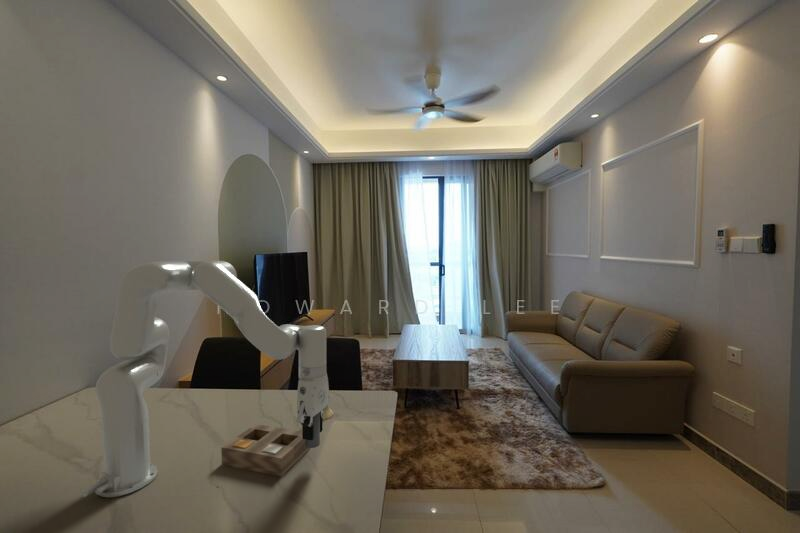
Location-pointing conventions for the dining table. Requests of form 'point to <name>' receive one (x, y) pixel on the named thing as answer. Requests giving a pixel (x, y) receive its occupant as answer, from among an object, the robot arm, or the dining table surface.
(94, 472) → the dining table surface
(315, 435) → the plug
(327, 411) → the hand bell
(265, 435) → the socket block
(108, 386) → the robot arm
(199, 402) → the dining table surface
